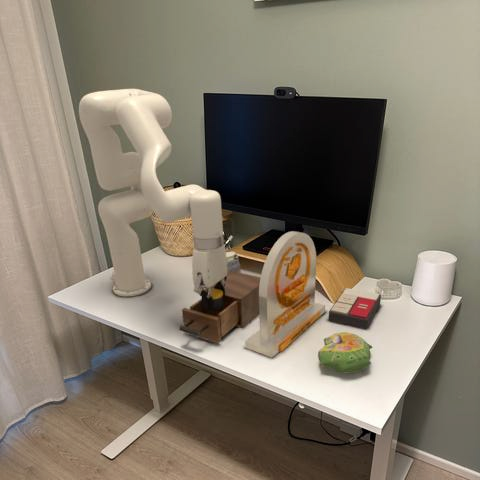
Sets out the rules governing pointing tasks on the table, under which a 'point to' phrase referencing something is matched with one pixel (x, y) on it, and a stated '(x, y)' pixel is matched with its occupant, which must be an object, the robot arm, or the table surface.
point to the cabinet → (243, 294)
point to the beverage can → (233, 262)
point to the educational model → (345, 353)
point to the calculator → (355, 308)
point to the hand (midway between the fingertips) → (214, 303)
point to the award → (286, 294)
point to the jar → (217, 298)
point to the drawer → (210, 320)
